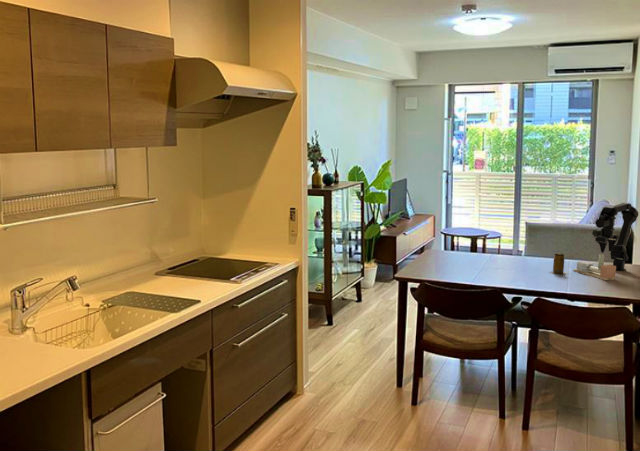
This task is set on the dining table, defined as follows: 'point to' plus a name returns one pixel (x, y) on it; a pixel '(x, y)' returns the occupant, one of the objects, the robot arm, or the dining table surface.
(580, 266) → the sleeve
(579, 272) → the base rail
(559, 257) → the condiment
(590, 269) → the beige cradle bracket
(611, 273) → the socket
